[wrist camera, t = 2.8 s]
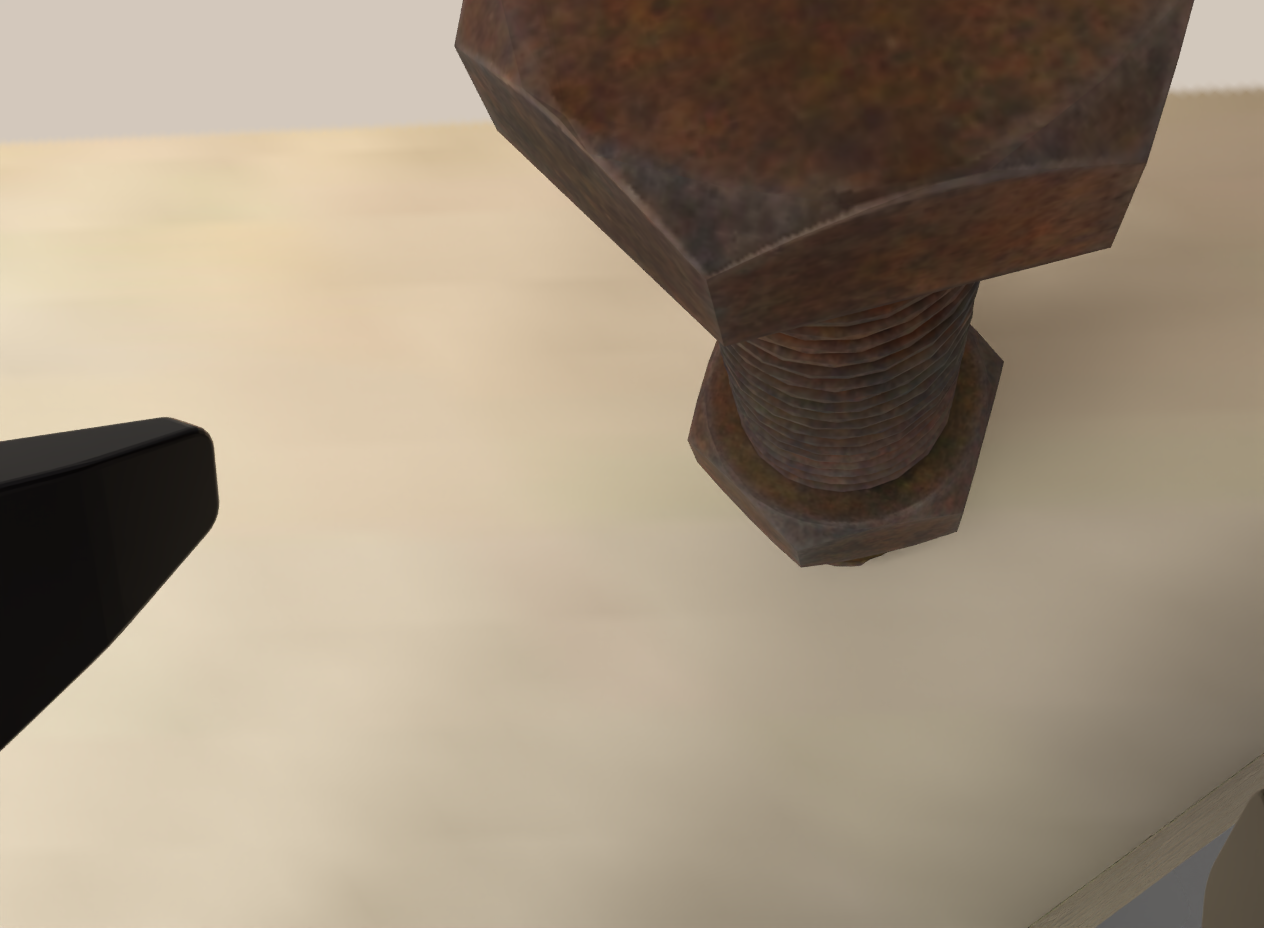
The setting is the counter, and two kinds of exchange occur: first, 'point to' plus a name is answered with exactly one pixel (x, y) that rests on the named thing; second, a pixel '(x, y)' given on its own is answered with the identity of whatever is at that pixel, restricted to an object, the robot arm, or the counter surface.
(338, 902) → the counter surface
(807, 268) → the bolt
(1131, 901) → the grey divided tray
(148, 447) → the robot arm
